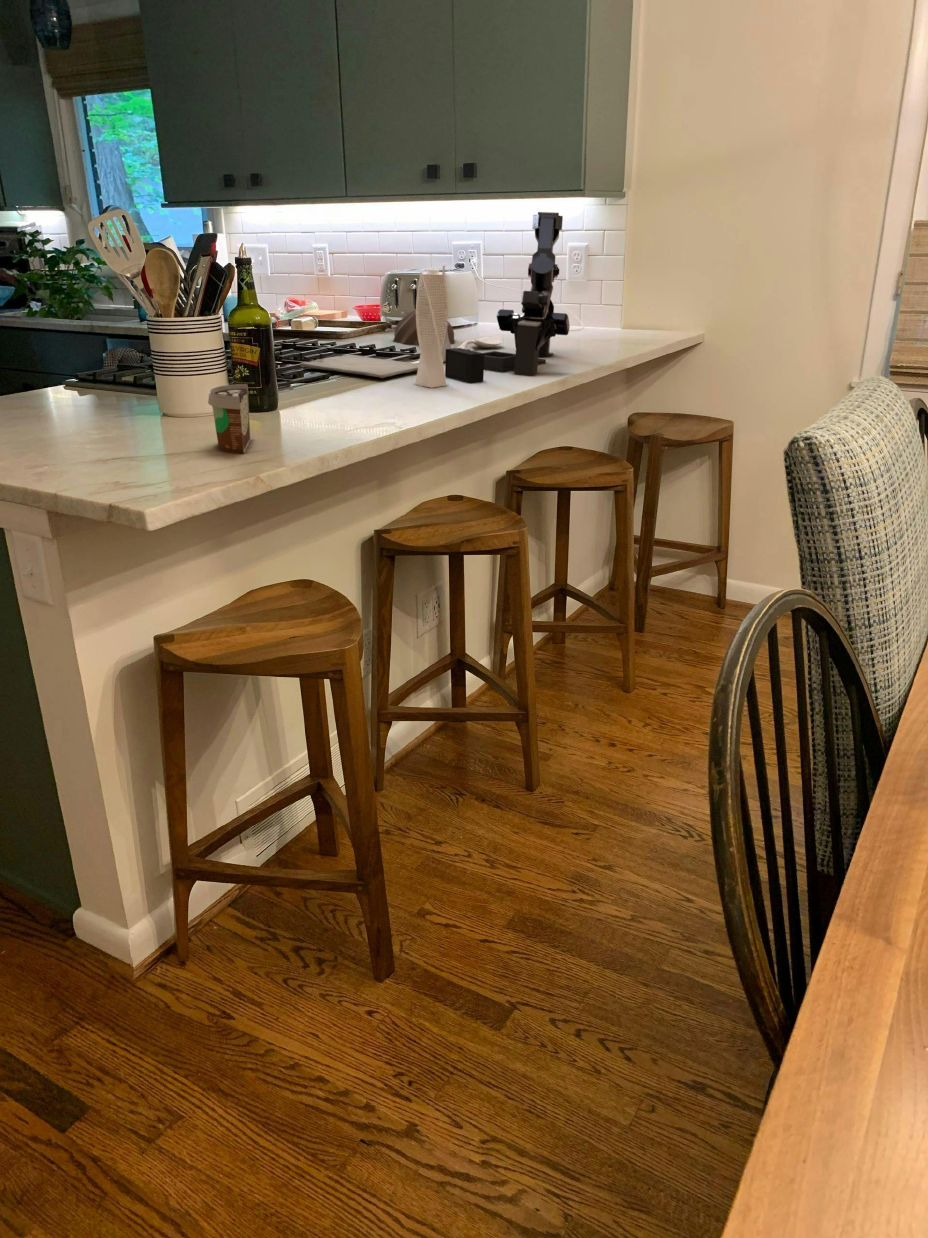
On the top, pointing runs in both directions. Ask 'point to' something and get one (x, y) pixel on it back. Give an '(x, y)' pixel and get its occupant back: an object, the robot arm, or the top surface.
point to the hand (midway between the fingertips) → (526, 348)
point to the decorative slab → (362, 365)
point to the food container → (231, 417)
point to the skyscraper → (431, 327)
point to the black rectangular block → (464, 365)
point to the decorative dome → (413, 330)
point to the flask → (445, 345)
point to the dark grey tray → (501, 361)
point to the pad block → (527, 348)
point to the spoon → (483, 342)
